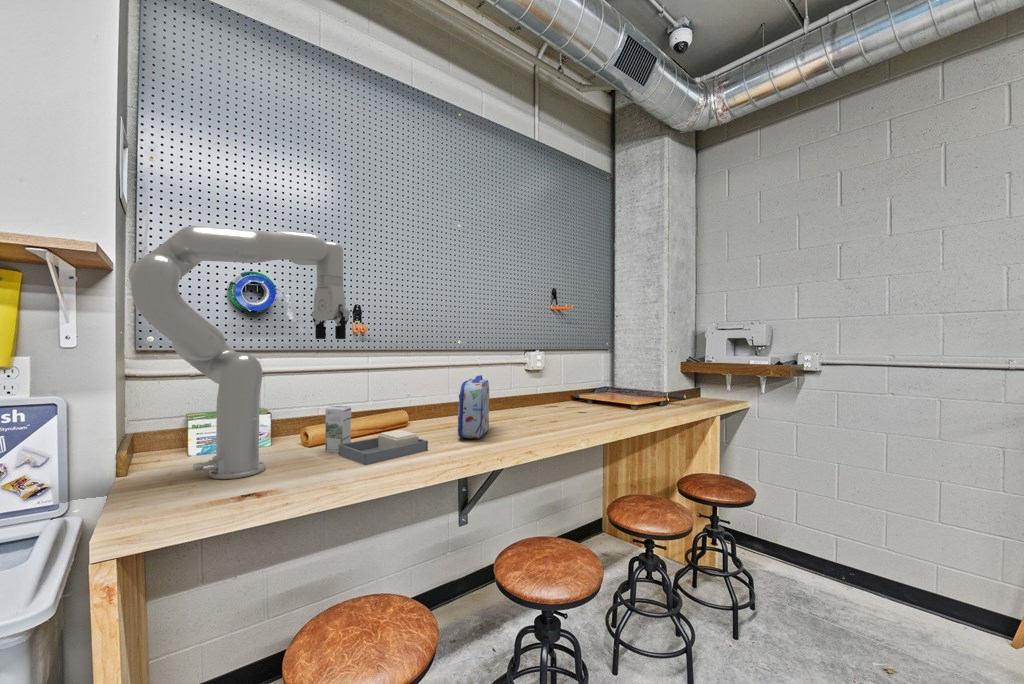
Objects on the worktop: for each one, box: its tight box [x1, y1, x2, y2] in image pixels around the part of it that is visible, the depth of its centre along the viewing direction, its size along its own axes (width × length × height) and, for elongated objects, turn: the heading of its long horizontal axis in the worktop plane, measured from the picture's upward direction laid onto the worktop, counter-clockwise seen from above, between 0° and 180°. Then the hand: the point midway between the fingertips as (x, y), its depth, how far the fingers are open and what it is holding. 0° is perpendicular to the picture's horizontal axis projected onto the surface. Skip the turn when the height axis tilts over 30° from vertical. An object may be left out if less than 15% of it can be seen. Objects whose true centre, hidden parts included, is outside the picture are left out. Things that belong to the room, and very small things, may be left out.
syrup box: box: [324, 405, 352, 454], centre depth 131 cm, size 6×6×14 cm
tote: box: [338, 437, 429, 466], centre depth 129 cm, size 21×15×4 cm
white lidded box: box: [377, 429, 420, 450], centre depth 133 cm, size 8×10×5 cm
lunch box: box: [457, 374, 490, 439], centre depth 160 cm, size 28×10×22 cm, turn 179°
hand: (330, 339), depth 130 cm, fingers open, 9 cm apart
